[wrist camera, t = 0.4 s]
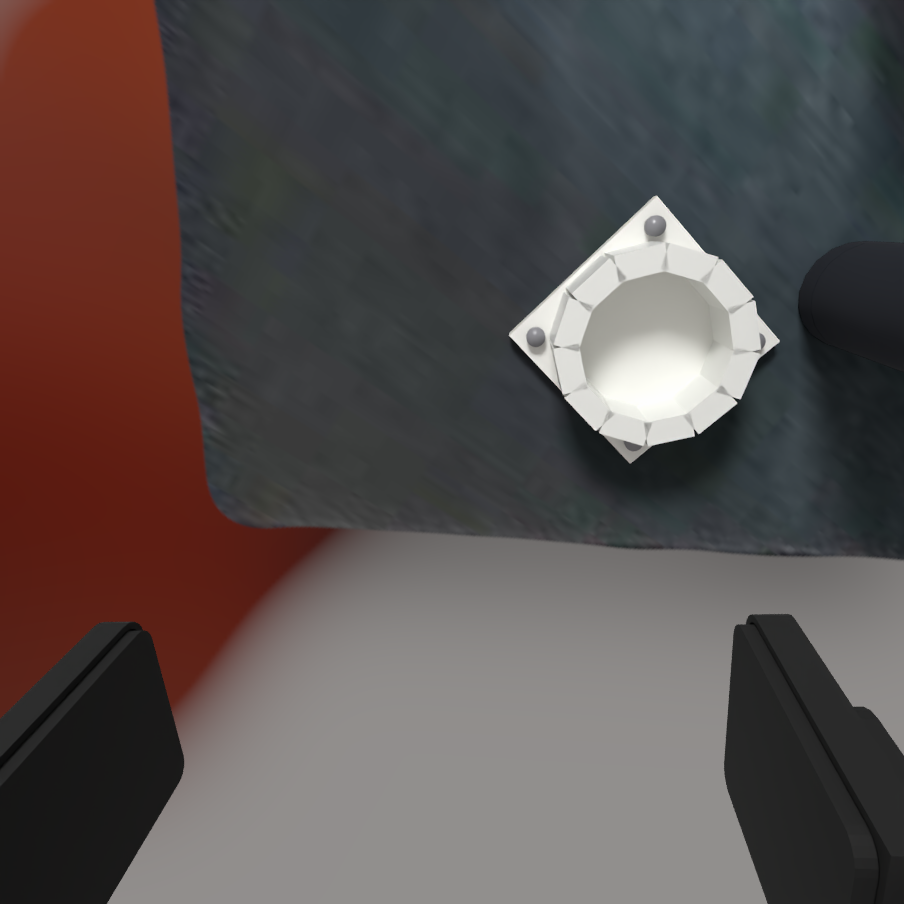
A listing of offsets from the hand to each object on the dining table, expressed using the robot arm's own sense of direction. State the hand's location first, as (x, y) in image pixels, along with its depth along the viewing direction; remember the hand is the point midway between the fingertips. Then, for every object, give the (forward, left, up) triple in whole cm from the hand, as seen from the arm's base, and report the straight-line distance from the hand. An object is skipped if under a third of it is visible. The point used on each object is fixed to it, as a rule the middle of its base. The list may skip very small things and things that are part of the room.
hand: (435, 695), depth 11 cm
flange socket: (-7, +7, -36) cm, 37 cm away
